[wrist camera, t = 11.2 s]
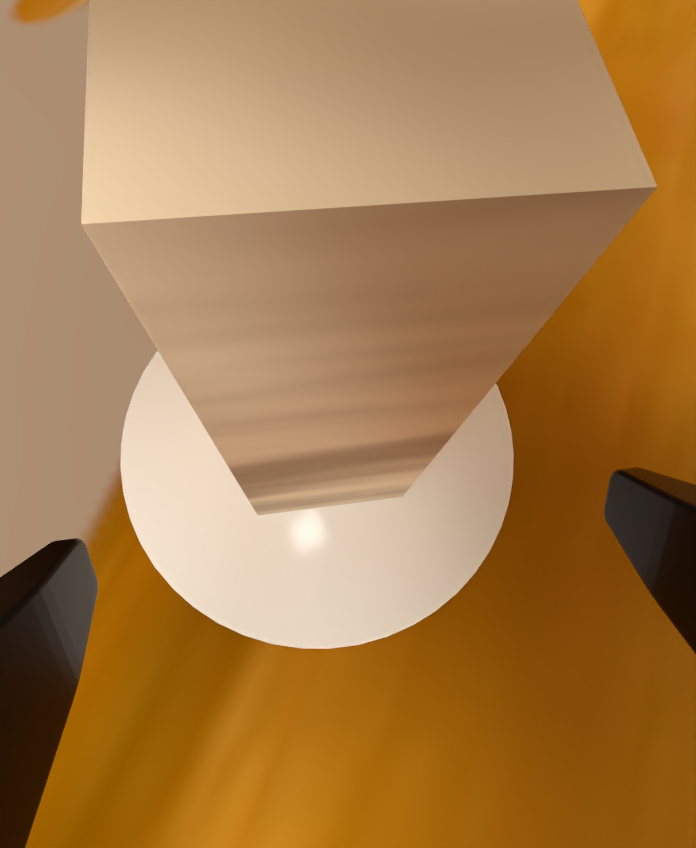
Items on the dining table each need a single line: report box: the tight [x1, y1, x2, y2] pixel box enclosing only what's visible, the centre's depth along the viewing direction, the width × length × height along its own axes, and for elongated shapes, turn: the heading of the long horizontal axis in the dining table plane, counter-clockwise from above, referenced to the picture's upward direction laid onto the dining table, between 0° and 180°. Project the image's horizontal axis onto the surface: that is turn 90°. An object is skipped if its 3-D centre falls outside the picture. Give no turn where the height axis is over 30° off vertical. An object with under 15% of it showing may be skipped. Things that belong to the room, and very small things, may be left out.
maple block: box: [81, 0, 657, 515], centre depth 12 cm, size 5×5×14 cm
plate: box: [121, 351, 514, 649], centre depth 19 cm, size 14×14×1 cm
